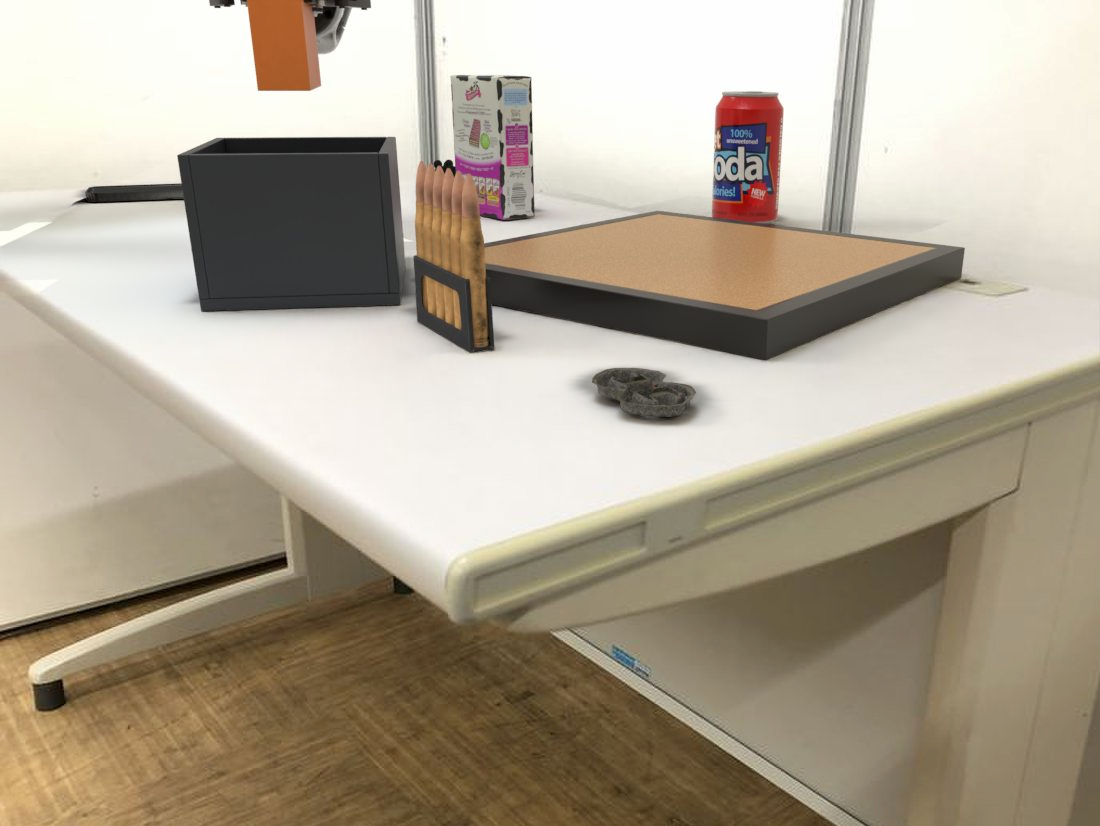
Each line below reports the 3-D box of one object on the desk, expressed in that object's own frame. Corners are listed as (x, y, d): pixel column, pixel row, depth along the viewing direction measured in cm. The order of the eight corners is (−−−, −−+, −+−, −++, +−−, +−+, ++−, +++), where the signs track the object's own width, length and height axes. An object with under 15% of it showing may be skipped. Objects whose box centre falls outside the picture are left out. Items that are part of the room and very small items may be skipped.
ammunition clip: (416, 320, 82) (404, 160, 78) (439, 318, 83) (428, 159, 78) (470, 353, 74) (461, 175, 69) (495, 349, 75) (487, 174, 70)
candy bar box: (537, 217, 131) (533, 75, 124) (503, 221, 128) (497, 76, 121) (488, 207, 139) (482, 73, 132) (455, 210, 136) (447, 73, 129)
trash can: (200, 311, 84) (176, 155, 80) (235, 272, 99) (216, 137, 94) (400, 305, 87) (388, 153, 82) (405, 268, 101) (395, 136, 97)
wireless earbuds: (466, 195, 149) (465, 158, 147) (473, 197, 147) (471, 159, 145) (419, 198, 146) (416, 160, 144) (425, 200, 144) (422, 162, 142)
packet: (257, 90, 83) (234, -98, 78) (273, 85, 91) (253, -85, 86) (310, 90, 83) (291, -96, 78) (321, 86, 92) (304, -83, 87)
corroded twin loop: (644, 377, 68) (645, 362, 68) (714, 413, 62) (715, 396, 61) (575, 389, 66) (575, 373, 65) (640, 427, 59) (640, 409, 59)
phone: (89, 186, 145) (206, 182, 150) (91, 194, 145) (207, 190, 150) (84, 193, 138) (207, 189, 143) (86, 202, 139) (208, 197, 144)
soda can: (788, 223, 128) (796, 91, 122) (757, 232, 122) (764, 93, 116) (731, 217, 132) (737, 89, 126) (699, 225, 126) (703, 91, 120)
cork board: (416, 289, 92) (765, 360, 73) (414, 256, 91) (768, 319, 72) (656, 236, 118) (961, 278, 99) (657, 210, 117) (964, 247, 98)
